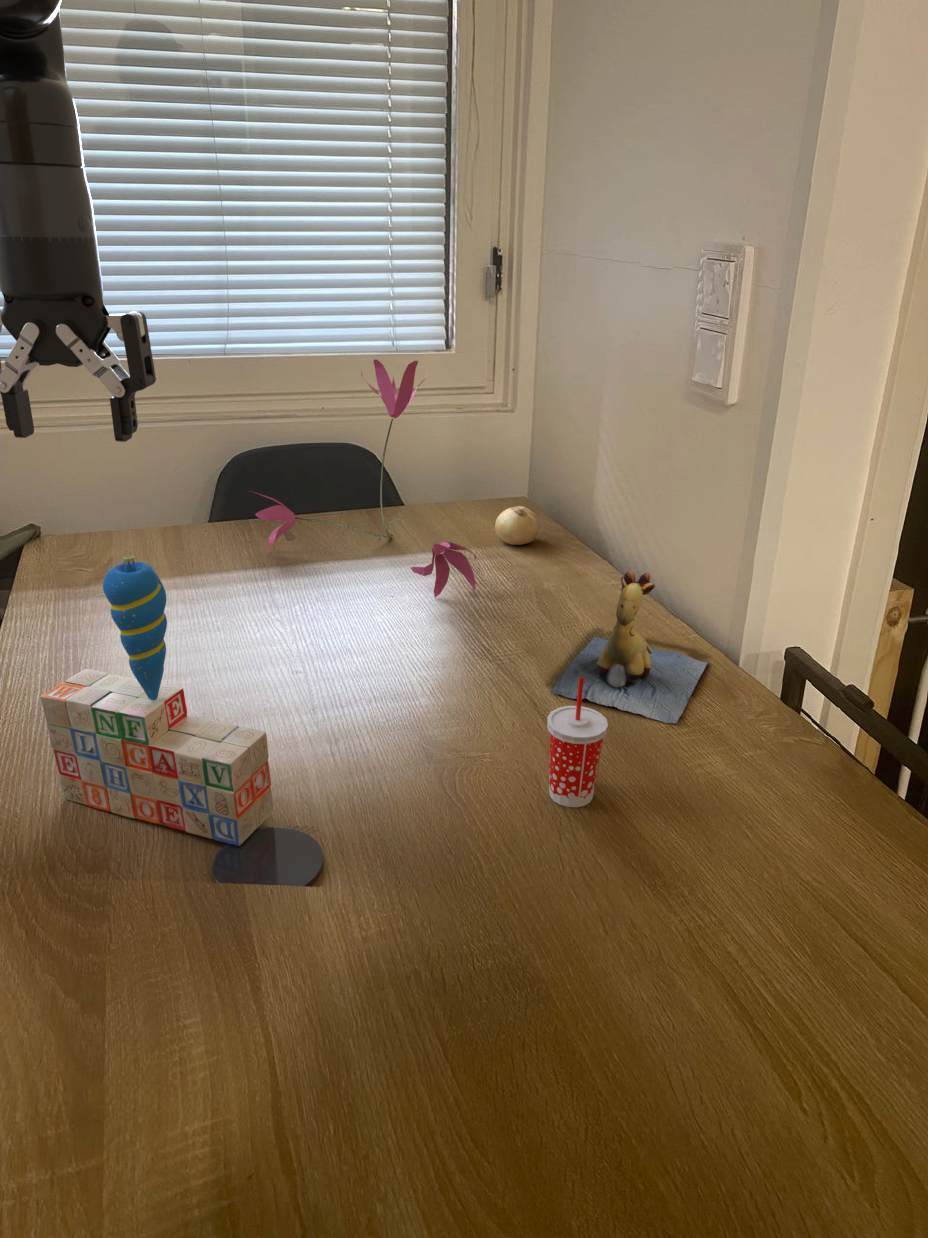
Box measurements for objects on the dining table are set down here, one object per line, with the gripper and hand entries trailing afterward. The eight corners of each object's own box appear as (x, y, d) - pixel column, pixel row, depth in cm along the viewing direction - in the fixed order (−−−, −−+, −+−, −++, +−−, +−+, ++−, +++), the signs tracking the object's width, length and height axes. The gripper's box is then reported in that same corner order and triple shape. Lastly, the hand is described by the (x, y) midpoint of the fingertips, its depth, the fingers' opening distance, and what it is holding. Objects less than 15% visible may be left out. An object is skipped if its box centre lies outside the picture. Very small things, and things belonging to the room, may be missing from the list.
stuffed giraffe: (550, 692, 114) (565, 575, 108) (594, 640, 130) (610, 534, 123) (675, 728, 109) (699, 606, 102) (706, 669, 124) (729, 560, 117)
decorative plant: (344, 706, 155) (275, 646, 127) (270, 516, 172) (195, 427, 145) (542, 609, 154) (515, 528, 126) (448, 428, 171) (406, 322, 144)
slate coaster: (199, 902, 80) (198, 896, 80) (229, 829, 89) (228, 824, 89) (312, 906, 80) (312, 901, 79) (331, 833, 89) (331, 828, 88)
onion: (485, 540, 165) (486, 502, 162) (515, 531, 170) (517, 494, 166) (516, 552, 159) (518, 514, 156) (547, 542, 164) (550, 505, 161)
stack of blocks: (276, 811, 91) (264, 703, 86) (240, 849, 85) (225, 736, 80) (104, 767, 98) (85, 665, 93) (61, 799, 92) (38, 693, 87)
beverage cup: (590, 775, 99) (601, 661, 93) (607, 809, 93) (621, 690, 87) (535, 779, 98) (543, 664, 92) (550, 814, 92) (559, 694, 86)
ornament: (148, 718, 83) (122, 564, 77) (111, 703, 86) (84, 553, 80) (191, 695, 87) (170, 547, 81) (155, 681, 90) (132, 537, 83)
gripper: (152, 232, 74) (171, 431, 81) (-22, 226, 74) (12, 424, 81) (116, 235, 67) (141, 452, 74) (-75, 228, 67) (-33, 445, 74)
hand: (74, 437), depth 77 cm, fingers open, 8 cm apart
